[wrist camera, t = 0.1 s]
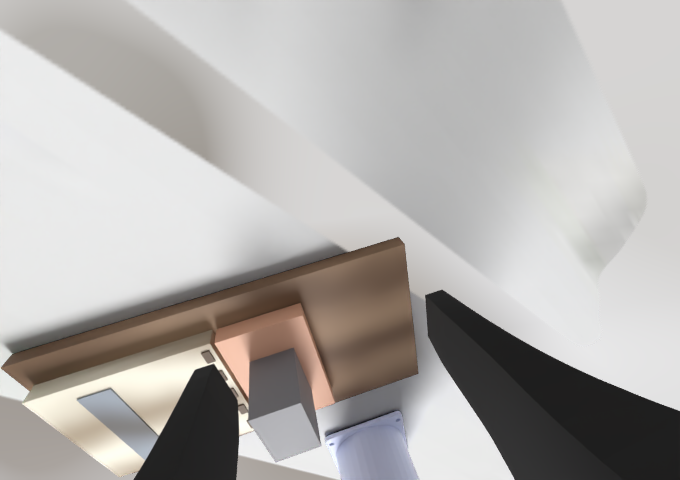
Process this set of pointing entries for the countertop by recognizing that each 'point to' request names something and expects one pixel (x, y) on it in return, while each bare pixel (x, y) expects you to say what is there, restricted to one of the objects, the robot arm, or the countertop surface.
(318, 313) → the board
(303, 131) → the countertop surface
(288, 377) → the pink grey stepped block
